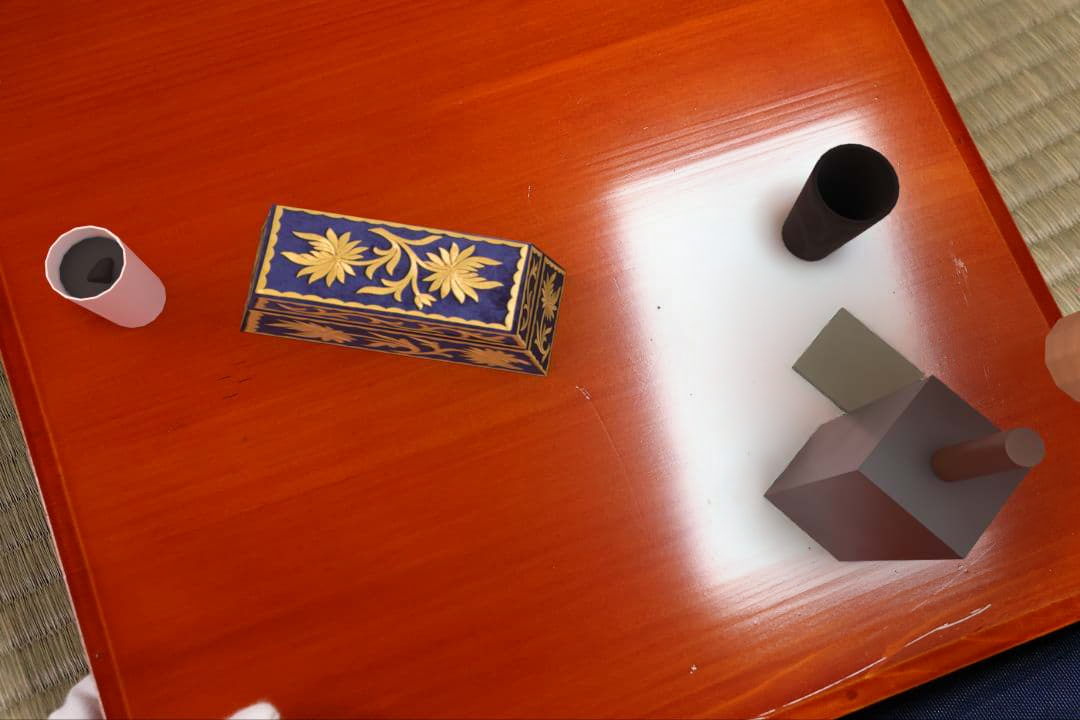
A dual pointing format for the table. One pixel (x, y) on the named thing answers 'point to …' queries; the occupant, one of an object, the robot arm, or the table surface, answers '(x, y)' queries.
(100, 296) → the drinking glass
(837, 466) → the peg stand
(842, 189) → the cup
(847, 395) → the felt coaster
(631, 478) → the table surface
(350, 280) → the decorative box
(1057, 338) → the orange hollow cylinder
